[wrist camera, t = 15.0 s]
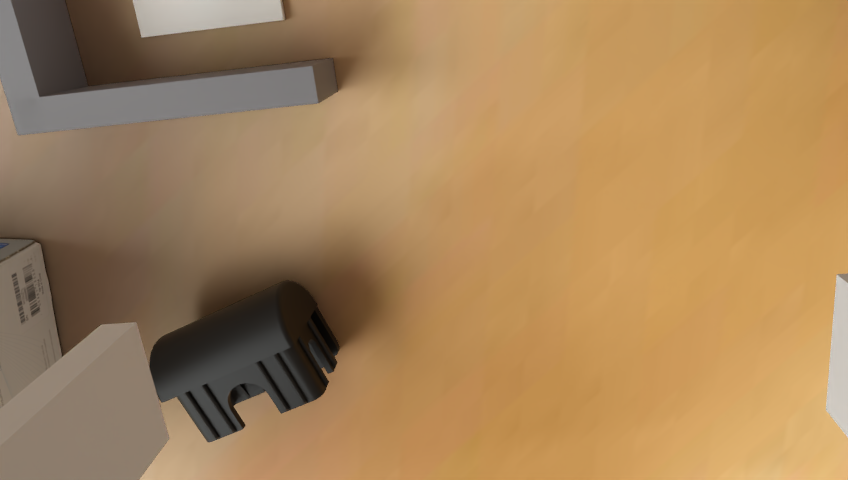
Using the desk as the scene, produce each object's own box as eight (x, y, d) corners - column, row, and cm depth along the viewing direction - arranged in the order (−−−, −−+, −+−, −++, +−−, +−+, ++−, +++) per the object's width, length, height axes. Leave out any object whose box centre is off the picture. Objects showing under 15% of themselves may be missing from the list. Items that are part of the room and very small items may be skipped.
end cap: (298, 261, 47) (267, 303, 40) (348, 346, 48) (326, 399, 42) (179, 316, 49) (132, 364, 43) (231, 395, 51) (194, 453, 44)
